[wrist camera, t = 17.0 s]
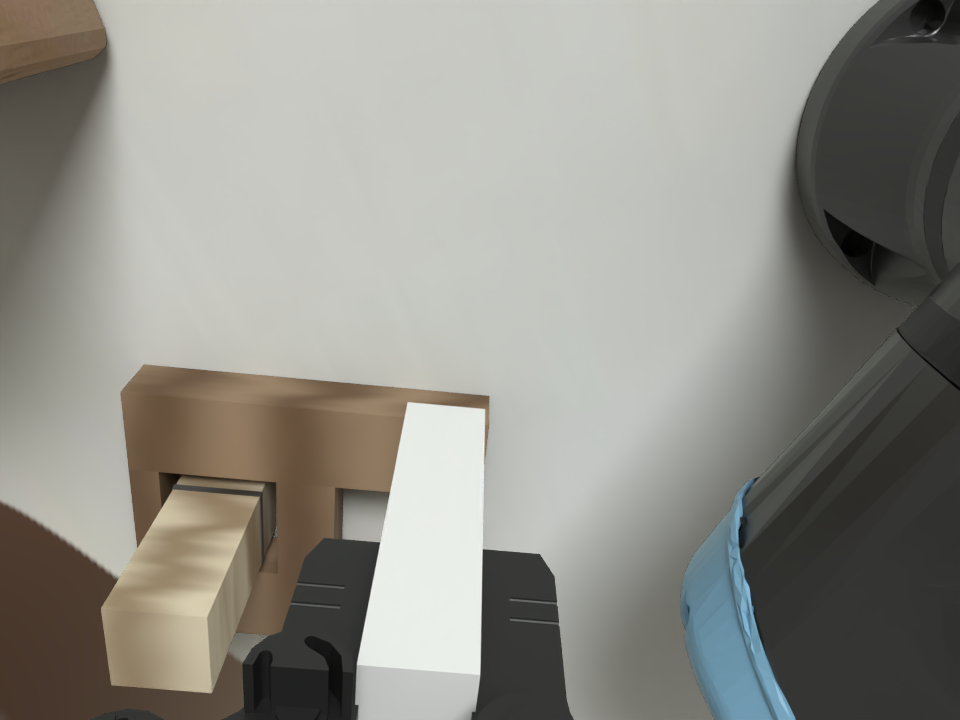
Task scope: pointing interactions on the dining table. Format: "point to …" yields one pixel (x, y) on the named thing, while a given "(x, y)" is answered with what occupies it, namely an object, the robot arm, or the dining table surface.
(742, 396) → the dining table surface
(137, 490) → the walnut board
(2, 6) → the wooden block
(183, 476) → the beech peg
